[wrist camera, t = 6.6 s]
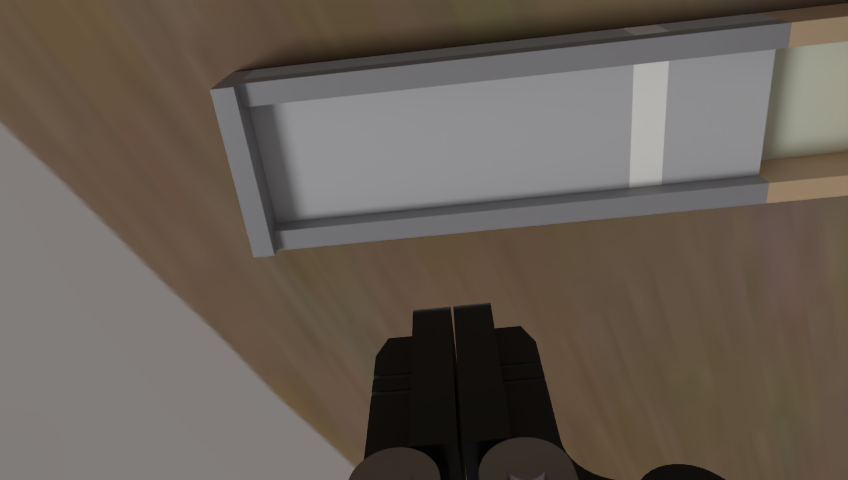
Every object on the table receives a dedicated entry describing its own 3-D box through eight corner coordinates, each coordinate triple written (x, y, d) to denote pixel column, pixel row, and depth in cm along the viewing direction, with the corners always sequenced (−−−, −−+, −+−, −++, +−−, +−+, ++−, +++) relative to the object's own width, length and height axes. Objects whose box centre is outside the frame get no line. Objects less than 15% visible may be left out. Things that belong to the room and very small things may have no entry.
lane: (233, 72, 30) (206, 92, 26) (990, -14, 28) (1073, -4, 24) (270, 225, 33) (251, 262, 30) (944, 159, 31) (1010, 189, 28)
